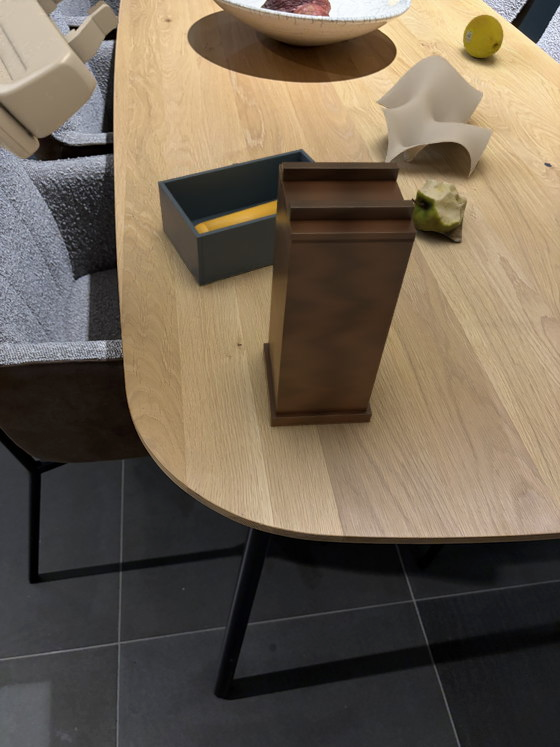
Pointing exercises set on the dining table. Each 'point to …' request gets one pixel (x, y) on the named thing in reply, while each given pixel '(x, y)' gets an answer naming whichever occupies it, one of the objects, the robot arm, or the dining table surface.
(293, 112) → the dining table surface
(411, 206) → the pedestal
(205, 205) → the blue-grey open box
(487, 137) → the sculpture
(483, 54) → the lemon
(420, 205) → the fruit
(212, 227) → the corn cob
